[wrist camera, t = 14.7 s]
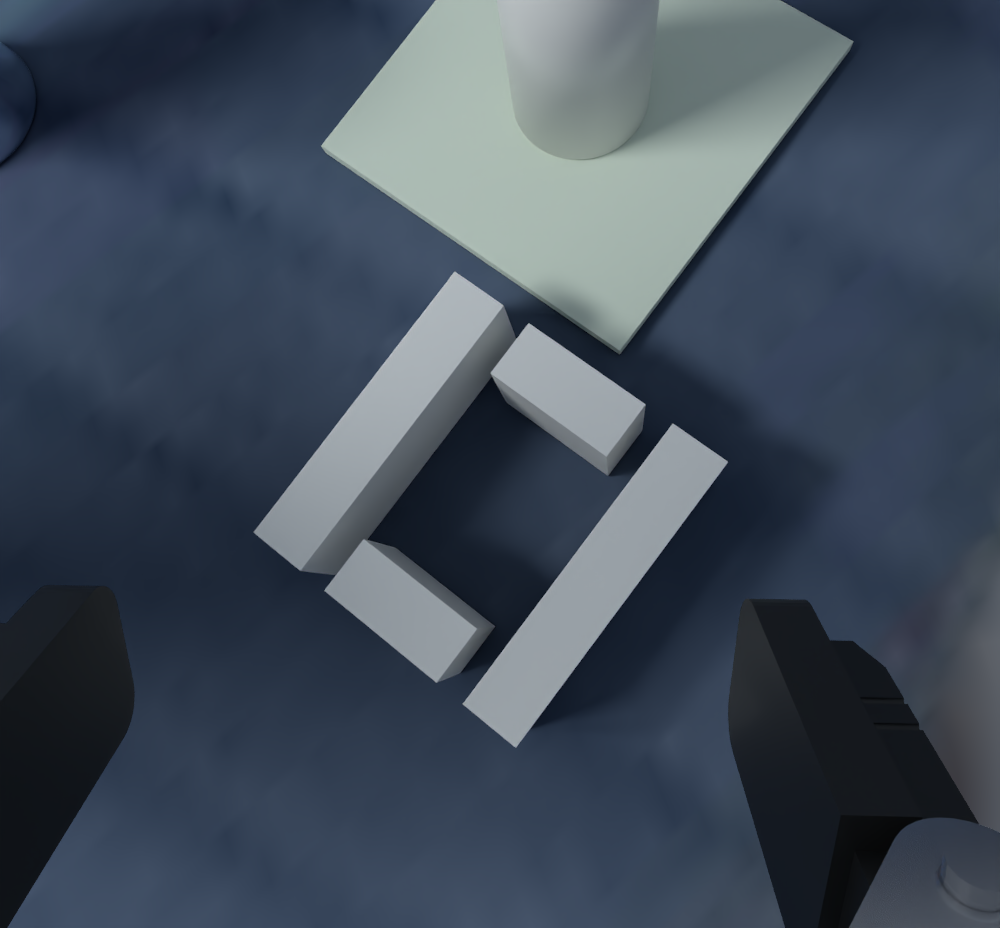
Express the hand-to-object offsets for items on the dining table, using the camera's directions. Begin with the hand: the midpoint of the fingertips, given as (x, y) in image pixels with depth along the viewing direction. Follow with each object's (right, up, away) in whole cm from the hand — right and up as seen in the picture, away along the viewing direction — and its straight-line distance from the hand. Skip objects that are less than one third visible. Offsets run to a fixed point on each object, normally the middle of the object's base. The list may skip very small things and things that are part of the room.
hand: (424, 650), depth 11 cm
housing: (+1, +1, +20) cm, 20 cm away
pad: (+4, +16, +22) cm, 27 cm away
